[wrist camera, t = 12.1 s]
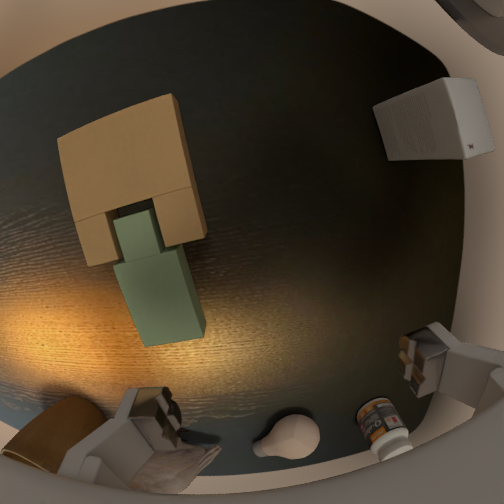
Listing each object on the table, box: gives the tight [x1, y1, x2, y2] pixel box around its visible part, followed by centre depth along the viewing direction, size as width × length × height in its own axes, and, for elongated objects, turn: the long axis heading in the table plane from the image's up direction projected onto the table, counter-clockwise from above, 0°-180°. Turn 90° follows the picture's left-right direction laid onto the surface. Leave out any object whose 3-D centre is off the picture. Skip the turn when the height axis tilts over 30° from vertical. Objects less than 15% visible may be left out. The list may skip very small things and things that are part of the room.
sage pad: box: [113, 207, 206, 347], centre depth 27 cm, size 13×6×3 cm, turn 13°
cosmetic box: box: [372, 78, 495, 161], centre depth 20 cm, size 6×4×12 cm
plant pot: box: [1, 396, 106, 474], centre depth 26 cm, size 15×15×16 cm
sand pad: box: [57, 93, 208, 267], centre depth 24 cm, size 13×12×3 cm
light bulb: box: [253, 414, 320, 459], centre depth 33 cm, size 7×7×11 cm
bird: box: [127, 428, 222, 494], centre depth 27 cm, size 5×14×15 cm, turn 81°
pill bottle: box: [357, 398, 413, 462], centre depth 31 cm, size 6×6×10 cm
